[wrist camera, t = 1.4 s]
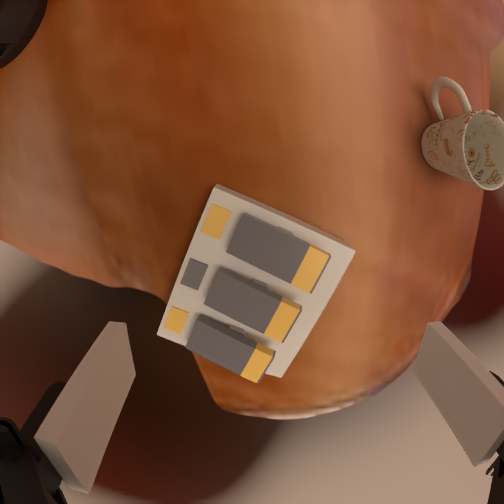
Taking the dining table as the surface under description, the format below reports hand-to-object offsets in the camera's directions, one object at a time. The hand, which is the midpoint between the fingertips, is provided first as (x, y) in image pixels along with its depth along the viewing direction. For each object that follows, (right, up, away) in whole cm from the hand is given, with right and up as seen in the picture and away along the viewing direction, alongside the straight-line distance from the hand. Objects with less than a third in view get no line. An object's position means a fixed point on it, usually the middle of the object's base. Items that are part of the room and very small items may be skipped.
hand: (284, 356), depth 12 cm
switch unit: (-2, +1, +25) cm, 25 cm away
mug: (+21, +19, +20) cm, 35 cm away
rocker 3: (-4, -6, +20) cm, 22 cm away
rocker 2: (-1, -1, +19) cm, 19 cm away
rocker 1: (+1, +4, +17) cm, 18 cm away
